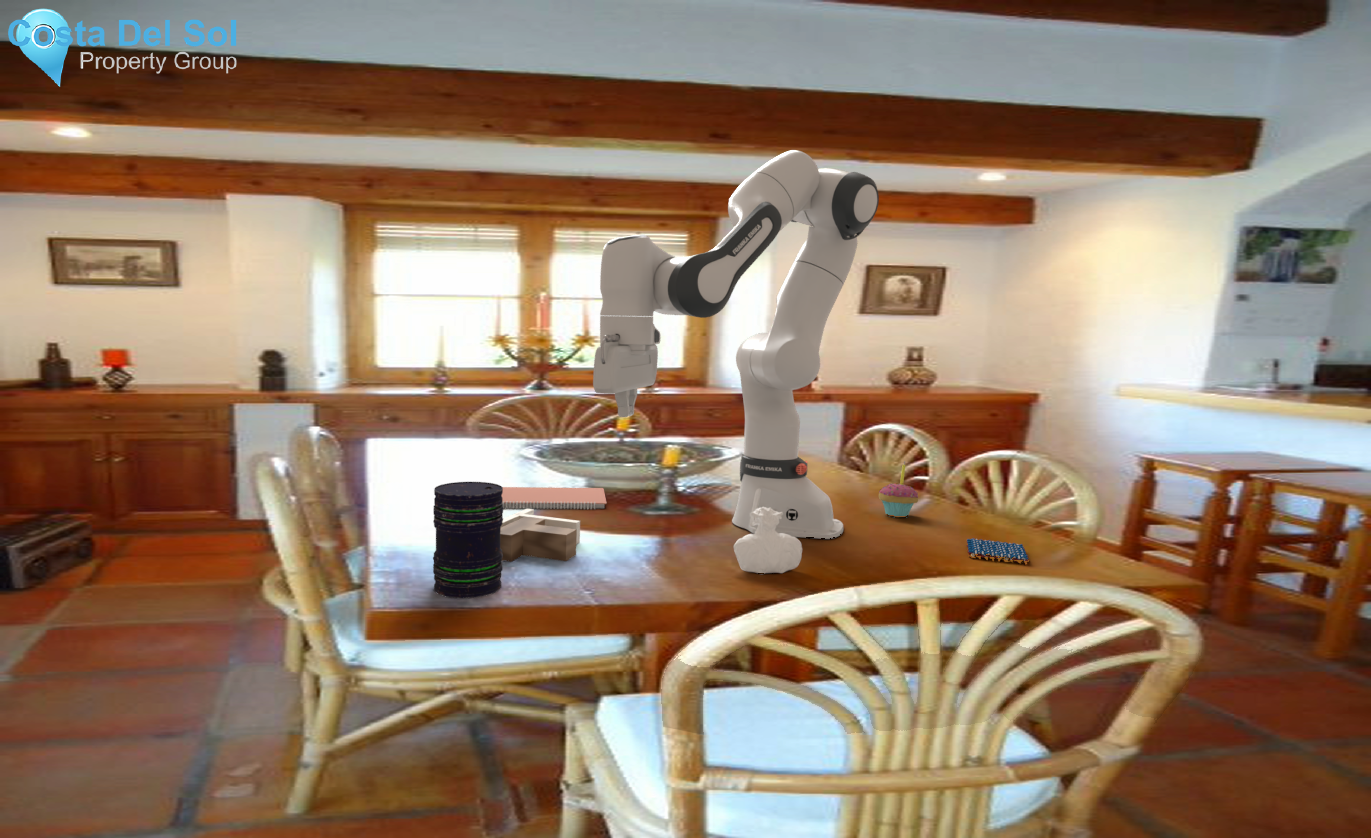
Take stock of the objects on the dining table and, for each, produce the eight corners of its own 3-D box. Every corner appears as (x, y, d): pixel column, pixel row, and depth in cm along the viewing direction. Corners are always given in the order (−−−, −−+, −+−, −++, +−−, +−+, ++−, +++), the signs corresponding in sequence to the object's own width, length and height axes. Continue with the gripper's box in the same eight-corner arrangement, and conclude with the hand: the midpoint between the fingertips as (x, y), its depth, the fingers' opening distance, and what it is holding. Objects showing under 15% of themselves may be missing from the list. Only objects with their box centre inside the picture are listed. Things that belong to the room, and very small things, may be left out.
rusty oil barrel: (436, 601, 111) (437, 497, 109) (429, 580, 120) (429, 483, 118) (508, 594, 115) (509, 493, 113) (496, 574, 124) (497, 480, 122)
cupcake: (886, 509, 181) (890, 457, 179) (922, 515, 176) (926, 462, 175) (871, 515, 174) (875, 461, 173) (909, 522, 169) (913, 467, 168)
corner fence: (588, 537, 147) (589, 516, 147) (518, 577, 122) (519, 552, 122) (526, 529, 151) (526, 508, 150) (446, 566, 126) (446, 542, 126)
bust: (797, 579, 134) (785, 518, 140) (814, 563, 128) (800, 500, 133) (730, 583, 131) (720, 520, 136) (744, 566, 125) (732, 501, 130)
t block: (585, 549, 139) (586, 524, 139) (555, 568, 128) (555, 540, 128) (524, 541, 143) (524, 516, 142) (489, 559, 131) (489, 532, 131)
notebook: (476, 511, 165) (476, 502, 165) (484, 494, 182) (484, 485, 182) (606, 512, 170) (606, 503, 169) (603, 495, 186) (603, 486, 186)
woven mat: (1030, 569, 140) (1032, 557, 140) (967, 561, 143) (968, 550, 143) (1024, 553, 150) (1025, 543, 150) (965, 546, 153) (966, 536, 153)
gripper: (620, 335, 121) (620, 424, 123) (663, 333, 140) (662, 410, 142) (583, 334, 123) (583, 422, 125) (630, 332, 142) (630, 409, 144)
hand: (626, 416), depth 134 cm, fingers closed
